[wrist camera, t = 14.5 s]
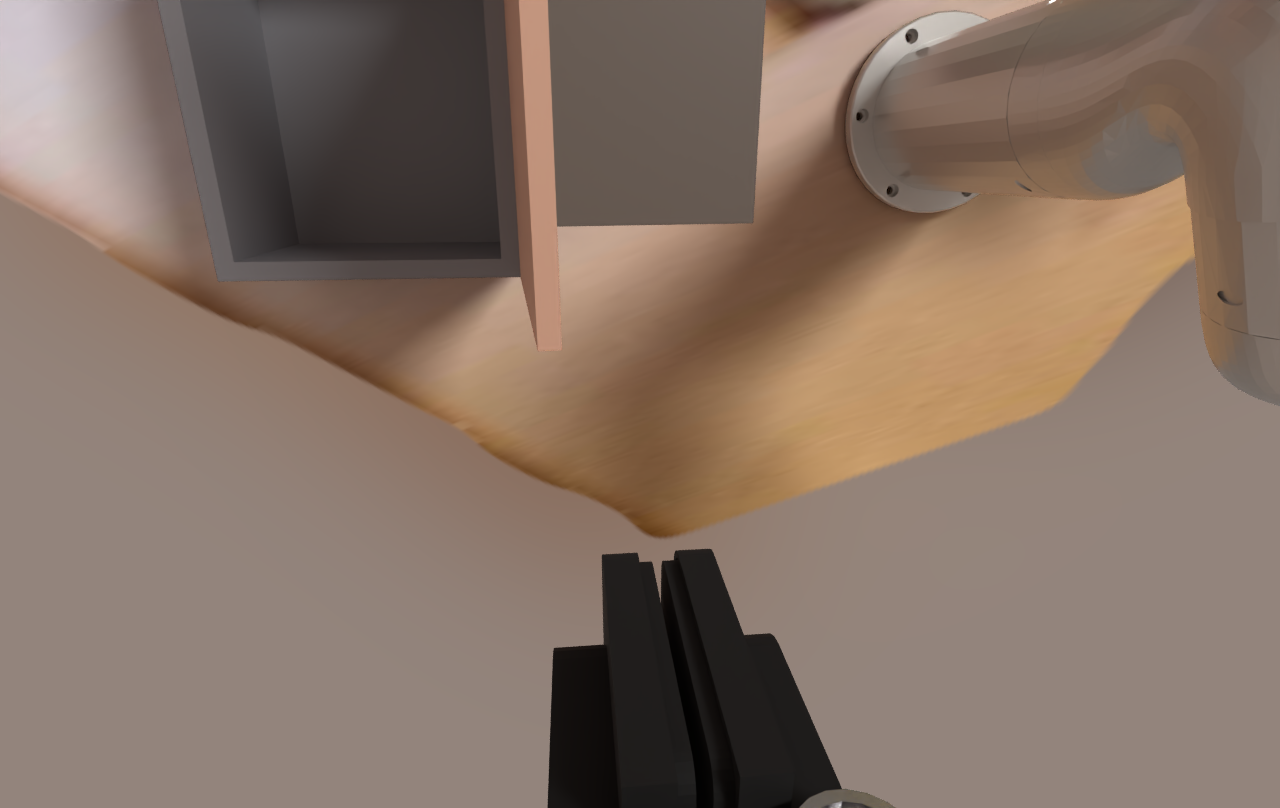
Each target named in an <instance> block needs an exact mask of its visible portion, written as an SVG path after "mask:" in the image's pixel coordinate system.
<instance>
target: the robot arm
mask: <svg viewBox="0 0 1280 808" xmlns="http://www.w3.org/2000/svg"><path fill="white" fill-rule="evenodd" d="M905 35H907V36H908V41H906V39H905ZM857 113H859V114H860V119H859V120H858V121H857V120H856V114H857ZM845 129H846V143H847V148H848V153H849V158H850V160H851V162H852V165H853V167H854V170H855V172H856V174H857V176H858V177H859V179H860V180H861V181H862V183H863V184H864V186H865V187H866V188H867V189H868V190H869V191H870V192H871V193H872V194H873V195H874V196H875V197H876V198H878V199H879V200H881V201H883V202H884V203H886V204H888V205H889V206H892V207H895V208H898V209H901V210H904V211H910V212H916V213H935V212H940V211H945V210H950V209H953V208H955V207H957V206H960V205H962V204H965V203H967V202H968V201H970V200H972V199H973V198H975V197H976V196H978V195H979V194H997V195H1013V196H1029V197H1045V198H1061V199H1077V200H1114V199H1121V198H1126V197H1131V196H1135V195H1139V194H1142V193H1145V192H1148V191H1150V190H1153V189H1155V188H1158V187H1160V186H1162V185H1165V184H1167V183H1169V182H1171V181H1173V180H1175V179H1177V178H1179V177H1181V176H1182V175H1184V176H1185V185H1186V195H1187V204H1188V206H1189V208H1190V209H1191V219H1192V230H1193V241H1194V251H1195V261H1196V272H1197V283H1198V293H1199V304H1200V314H1201V323H1202V328H1203V334H1204V339H1205V344H1206V347H1207V350H1208V353H1209V356H1210V358H1211V360H1212V362H1213V364H1214V366H1215V367H1216V368H1217V370H1218V371H1219V372H1220V373H1221V375H1222V376H1223V377H1224V378H1225V379H1226V380H1227V381H1228V382H1230V383H1231V384H1232V385H1233V386H1235V387H1236V388H1237V389H1239V390H1241V391H1243V392H1245V393H1247V394H1248V395H1250V396H1253V397H1255V398H1257V399H1260V400H1263V401H1265V402H1268V403H1272V404H1274V405H1278V406H1280V0H1045V1H1042V2H1039V3H1037V4H1034V5H1031V6H1028V7H1025V8H1022V9H1020V10H1017V11H1014V12H1011V13H1008V14H1005V15H1003V16H1000V17H997V18H994V19H991V20H989V19H987V18H984V17H982V16H979V15H977V14H974V13H971V12H964V11H957V10H953V11H942V12H935V13H932V14H929V15H926V16H923V17H919V18H917V19H915V20H913V21H911V22H909V23H907V24H905V25H903V26H902V27H900V28H899V29H897V30H896V31H894V32H893V33H891V34H890V35H889V36H888V37H886V38H885V39H884V40H883V41H882V42H881V43H880V44H879V45H878V46H877V47H876V48H875V49H874V51H873V52H872V53H871V55H870V56H869V58H868V59H867V60H866V62H865V63H864V64H863V66H862V68H861V70H860V72H859V74H858V76H857V78H856V80H855V82H854V85H853V88H852V91H851V94H850V97H849V101H848V106H847V113H846V120H845ZM888 187H889V188H890V191H889V193H888V194H887V191H886V190H887V188H888ZM602 584H603V586H602V587H603V632H604V645H591V646H578V647H562V648H554V651H553V671H552V701H551V728H550V757H549V784H548V785H549V786H548V808H895V807H894V806H892V805H891V804H890V803H888V802H886V801H884V800H881V799H879V798H877V797H875V796H873V795H870V794H868V793H864V792H859V791H854V790H848V789H842V788H841V786H840V783H839V781H838V779H837V777H836V774H835V772H834V770H833V767H832V765H831V763H830V760H829V759H828V756H827V754H826V752H825V749H824V747H823V744H822V742H821V740H820V738H819V736H818V733H817V731H816V729H815V726H814V724H813V722H812V720H811V717H810V715H809V712H808V710H807V708H806V706H805V703H804V701H803V699H802V697H801V694H800V692H799V690H798V687H797V685H796V683H795V681H794V678H793V676H792V674H791V671H790V669H789V667H788V664H787V662H786V660H785V658H784V655H783V653H782V651H781V648H780V646H779V644H778V642H777V640H776V639H775V637H774V636H773V635H772V634H755V635H744V634H743V632H742V629H741V626H740V623H739V621H738V618H737V615H736V613H735V610H734V607H733V605H732V602H731V599H730V597H729V594H728V591H727V589H726V586H725V583H724V580H723V578H722V575H721V572H720V570H719V567H718V564H717V562H716V559H715V556H714V553H713V552H712V550H711V549H698V550H697V549H696V550H679V551H675V554H674V560H671V561H662V570H661V602H660V597H659V592H658V587H657V583H656V578H655V573H654V568H653V564H652V562H639V557H638V553H625V554H624V553H623V554H606V555H602Z"/></svg>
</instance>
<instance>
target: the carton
mask: <svg viewBox="0 0 1280 808" xmlns="http://www.w3.org/2000/svg"><path fill="white" fill-rule="evenodd" d="M157 2H158V6H159V11H160V15H161V20H162V25H163V29H164V34H165V39H166V43H167V48H168V52H169V57H170V62H171V66H172V71H173V76H174V80H175V85H176V89H177V94H178V99H179V103H180V108H181V113H182V117H183V122H184V127H185V131H186V136H187V140H188V145H189V150H190V154H191V159H192V164H193V168H194V173H195V177H196V182H197V187H198V191H199V196H200V201H201V205H202V210H203V214H204V219H205V224H206V228H207V233H208V238H209V242H210V247H211V251H212V256H213V261H214V265H215V270H216V275H217V279H218V281H285V280H351V279H418V278H485V277H521V274H520V258H519V241H518V225H517V208H516V192H515V175H514V159H513V142H512V126H511V109H510V93H509V76H508V60H507V43H506V27H505V11H504V0H157Z"/></svg>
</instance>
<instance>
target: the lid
mask: <svg viewBox="0 0 1280 808" xmlns="http://www.w3.org/2000/svg"><path fill="white" fill-rule="evenodd" d="M765 7H766V0H504V11H505V27H506V43H507V60H508V76H509V93H510V109H511V126H512V142H513V159H514V175H515V192H516V208H517V225H518V241H519V258H520V274H521V281H522V285H523V289H524V294H525V298H526V302H527V307H528V311H529V315H530V320H531V324H532V328H533V332H534V337H535V341H536V345H537V350H538V351H554V350H562V337H561V312H560V288H559V264H558V239H557V226H614V225H674V224H734V223H753V218H754V201H755V183H756V166H757V148H758V130H759V113H760V95H761V77H762V60H763V42H764V25H765Z"/></svg>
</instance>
